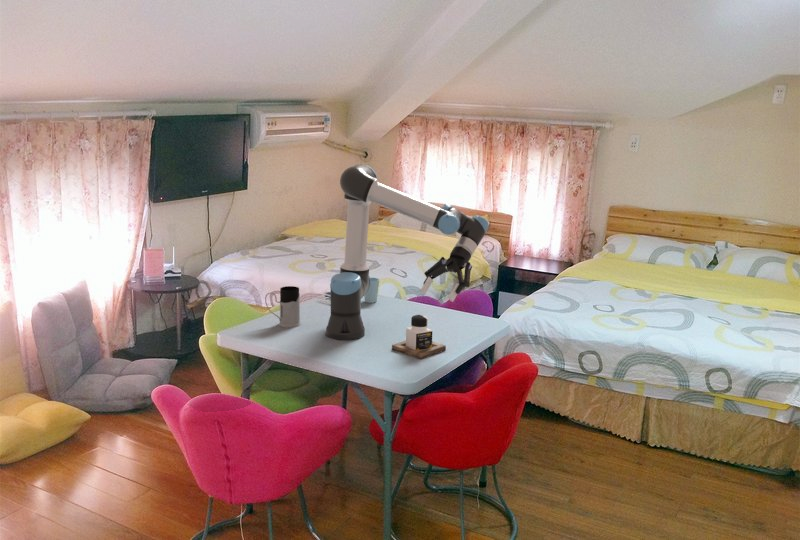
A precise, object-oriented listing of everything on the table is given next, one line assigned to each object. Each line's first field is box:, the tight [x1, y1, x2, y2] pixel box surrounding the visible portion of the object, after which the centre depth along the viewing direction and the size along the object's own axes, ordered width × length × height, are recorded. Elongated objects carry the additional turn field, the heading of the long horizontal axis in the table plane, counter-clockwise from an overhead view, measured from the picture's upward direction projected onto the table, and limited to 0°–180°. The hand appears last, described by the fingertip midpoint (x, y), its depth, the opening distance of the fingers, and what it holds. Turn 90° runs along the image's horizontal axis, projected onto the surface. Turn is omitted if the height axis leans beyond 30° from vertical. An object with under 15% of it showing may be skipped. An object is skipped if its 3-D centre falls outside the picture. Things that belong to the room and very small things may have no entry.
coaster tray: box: [391, 340, 447, 360], centre depth 258 cm, size 14×14×2 cm
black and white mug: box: [264, 285, 302, 328], centre depth 282 cm, size 9×14×15 cm, turn 109°
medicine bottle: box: [405, 314, 433, 351], centre depth 257 cm, size 7×7×12 cm
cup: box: [363, 277, 380, 304], centre depth 321 cm, size 8×8×10 cm
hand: (436, 296), depth 260 cm, fingers open, 13 cm apart
